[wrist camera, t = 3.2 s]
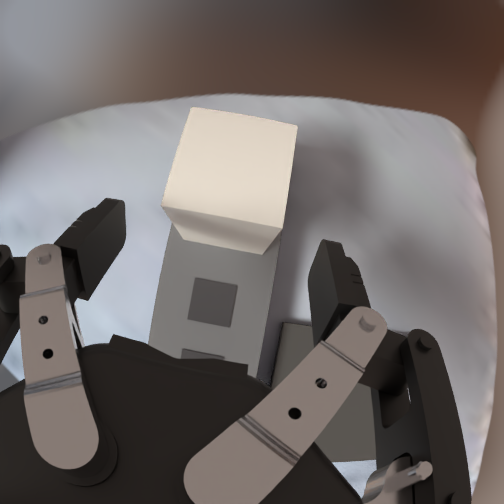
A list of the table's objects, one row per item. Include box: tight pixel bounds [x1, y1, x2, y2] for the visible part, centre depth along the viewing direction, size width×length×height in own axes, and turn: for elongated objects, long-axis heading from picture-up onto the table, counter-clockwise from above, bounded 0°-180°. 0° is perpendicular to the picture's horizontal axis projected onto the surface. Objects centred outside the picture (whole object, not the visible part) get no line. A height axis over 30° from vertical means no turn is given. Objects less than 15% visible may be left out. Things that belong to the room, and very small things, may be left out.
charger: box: [161, 107, 298, 255], centre depth 17 cm, size 5×5×9 cm
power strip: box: [148, 223, 282, 378], centre depth 19 cm, size 7×22×3 cm, turn 170°
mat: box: [270, 322, 376, 462], centre depth 20 cm, size 11×11×1 cm
